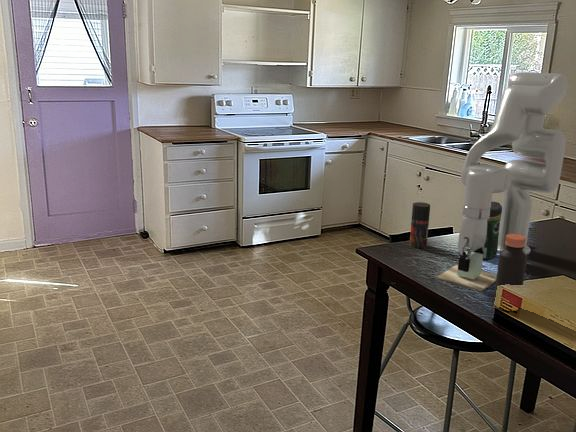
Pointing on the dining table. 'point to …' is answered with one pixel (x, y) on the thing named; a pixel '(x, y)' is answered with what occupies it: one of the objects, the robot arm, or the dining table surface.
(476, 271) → the pale green rectangular prism
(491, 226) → the coffee jar
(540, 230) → the dining table surface
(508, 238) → the bottle
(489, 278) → the post stand
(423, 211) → the deodorant
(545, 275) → the dining table surface
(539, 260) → the dining table surface
